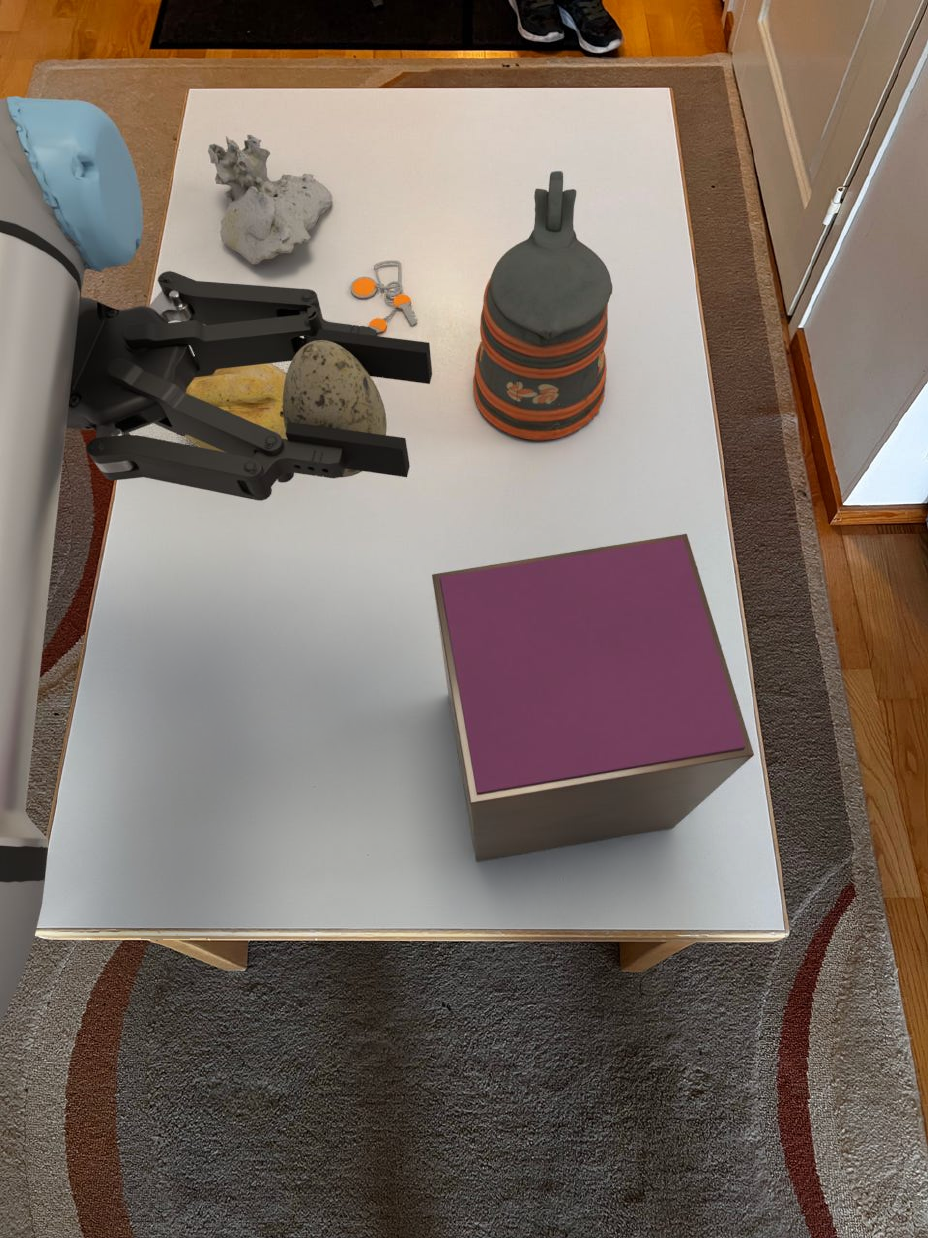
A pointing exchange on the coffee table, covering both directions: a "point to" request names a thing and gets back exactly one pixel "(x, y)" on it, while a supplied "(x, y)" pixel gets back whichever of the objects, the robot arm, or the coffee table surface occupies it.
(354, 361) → the decorative egg
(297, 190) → the coral
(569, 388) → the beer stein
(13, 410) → the robot arm
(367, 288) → the key chain
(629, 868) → the coffee table surface
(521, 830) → the plinth
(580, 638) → the cloth
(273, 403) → the tan rounded lump
